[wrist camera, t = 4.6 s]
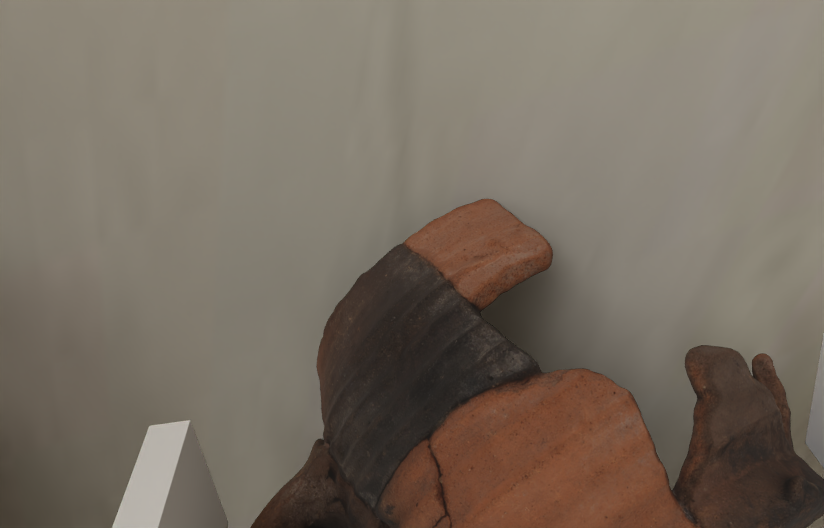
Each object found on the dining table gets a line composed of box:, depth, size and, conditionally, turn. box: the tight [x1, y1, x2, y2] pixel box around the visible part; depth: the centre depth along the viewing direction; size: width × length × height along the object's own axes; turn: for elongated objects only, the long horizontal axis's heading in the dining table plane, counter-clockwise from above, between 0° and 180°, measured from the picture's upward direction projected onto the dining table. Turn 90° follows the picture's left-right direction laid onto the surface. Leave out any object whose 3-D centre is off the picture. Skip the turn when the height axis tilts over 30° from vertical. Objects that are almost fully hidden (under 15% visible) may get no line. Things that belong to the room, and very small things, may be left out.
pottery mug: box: [251, 199, 824, 528], centre depth 16 cm, size 12×9×8 cm
